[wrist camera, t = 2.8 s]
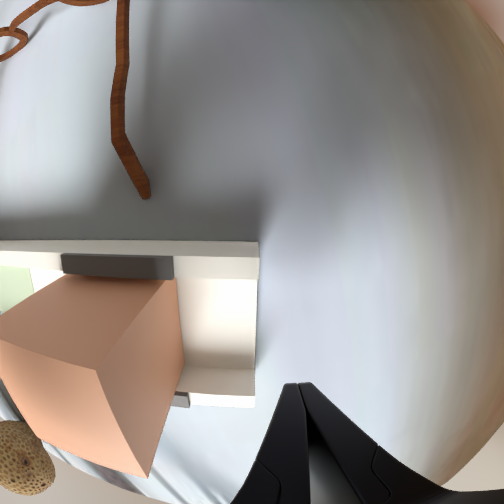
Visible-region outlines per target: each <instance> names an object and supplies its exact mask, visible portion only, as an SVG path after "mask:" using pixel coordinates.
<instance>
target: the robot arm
mask: <svg viewBox="0 0 504 504" xmlns="http://www.w3.org/2000/svg"><path fill="white" fill-rule="evenodd" d="M230 504H504V489H499V490H489V491H472V492H471V491H470V492H458V491H452V490H448V489H445V488H443V487H441V486H439V485H437V484H435V483H434V482H432V481H430V480H428V479H427V478H425V477H423V476H421V475H420V474H418V473H416V472H415V471H413V470H411V469H410V468H408V467H407V466H405V465H404V464H402V463H401V462H399V461H398V460H397V459H396V458H394V457H393V456H392V455H390V454H389V453H388V452H387V451H386V450H384V449H383V448H382V447H381V446H380V445H379V446H378V444H377V443H376V442H375V441H374V440H373V439H372V438H370V437H369V436H368V435H367V434H366V433H365V432H364V431H363V430H361V429H360V428H359V427H358V426H357V425H356V424H355V423H354V422H353V421H351V420H350V419H349V418H348V417H347V416H346V415H345V414H344V413H343V412H342V411H341V410H340V409H338V408H337V407H336V406H335V405H334V404H333V403H332V402H331V401H330V400H329V399H328V398H327V397H326V396H325V395H324V394H323V393H322V392H320V391H319V390H318V389H317V388H316V387H315V386H314V385H313V384H312V383H310V382H305V383H299V384H297V383H286V384H284V386H283V389H282V392H281V395H280V398H279V400H278V403H277V406H276V409H275V411H274V414H273V417H272V419H271V422H270V424H269V427H268V430H267V432H266V435H265V437H264V440H263V442H262V444H261V447H260V449H259V452H258V454H257V456H256V459H255V461H254V463H253V465H252V468H251V470H250V472H249V474H248V476H247V478H246V480H245V482H244V484H243V485H242V487H241V489H240V490H239V492H238V493H237V495H236V496H235V498H234V499H233V501H232V502H231V503H230Z"/></svg>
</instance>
